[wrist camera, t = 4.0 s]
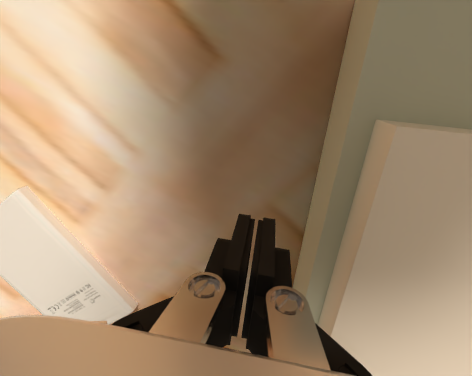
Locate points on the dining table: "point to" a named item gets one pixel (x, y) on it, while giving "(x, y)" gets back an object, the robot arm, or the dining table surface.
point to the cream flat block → (407, 255)
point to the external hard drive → (55, 264)
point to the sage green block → (383, 109)
